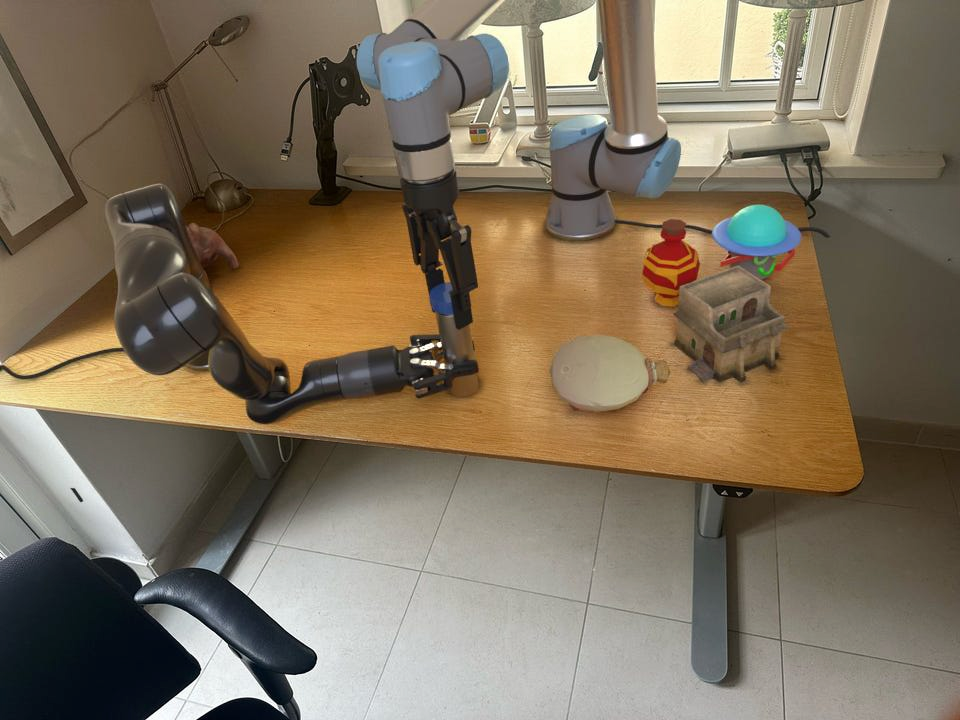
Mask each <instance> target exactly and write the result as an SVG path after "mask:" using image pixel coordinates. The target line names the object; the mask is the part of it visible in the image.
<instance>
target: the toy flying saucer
mask: <svg viewBox="0 0 960 720" xmlns="http://www.w3.org/2000/svg"><path fill="white" fill-rule="evenodd" d="M798 228H799V227H797V226H796V225H795V224H794V223H791V222H790V221H788V220H786V219H784V217H783V216H782V214H780V212H779V211H778V210H776V209H775V208H774V207H772V206H769V205H767V204H752V205H747V206H745V207H743V208H742V209H740V210H739V211H737V212H736V213H735V214H734V215H733V216H730V217H727V218H725V219H723V220H721V221H719V222H718V223H717V224H716V225H715V226H714V227H713V229H712V230H713V231H712V234H711V237H712V239H713V241H714V242H715V243H716V244H717V245H718V246H719V247H721V248H722V249H724V250H726V251H727V255H726V256H725V257H724V258H723V259H721V261H720V266H719V267H725V266H728V269H730V268H732V267H735V266H740V267H742V268H743V269H745V270H746V271H748V272H749V273H751V274H753V275H754V276H756V277H757V278H759V279H760V280H765V279H767V278H769V277H770V276H772V274H773V273H774V271H775V272H777V273H779V272H781V271H783V269H784V268H785V266H787V264H788V263H789V262H790V261H791V260H792V259H793V257H795V253H796V249H795V248H796V247H797V246H799V244H800V243H801V241H802V232H801V231H799V230H798ZM785 253H787V254H788V255H787V256H786V257H785V258H784V259H783V260H782V261H781V262H780V263H778V264H777V263H776V261H775V260H776V258H779V257H780V256H781V255H782V254H785Z"/></svg>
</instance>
